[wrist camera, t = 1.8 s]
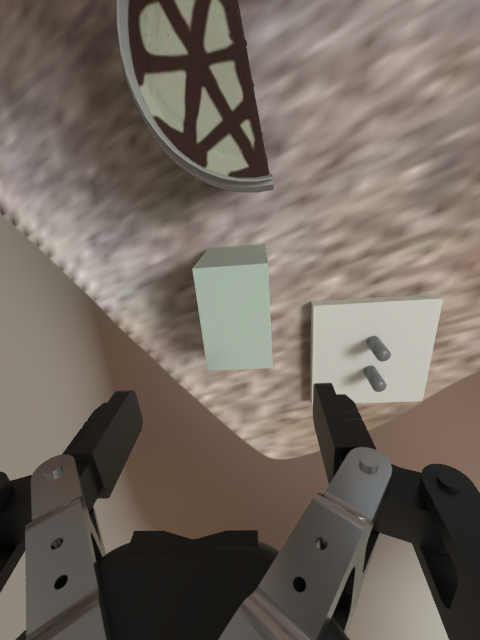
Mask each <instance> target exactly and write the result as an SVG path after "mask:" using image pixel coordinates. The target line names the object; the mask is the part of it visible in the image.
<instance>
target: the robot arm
mask: <svg viewBox="0 0 480 640" xmlns="http://www.w3.org/2000/svg"><path fill="white" fill-rule="evenodd" d="M313 420H314V426H315V430H316V434H317V438H318V442H319V446H320V450H321V454H322V458H323V462H324V466H325V470H326V474H327V478H328V482H329V486H328V488H327V489H326V491H325V492H324V494H321V493H317V494H316V495H315V496H314V498H313V499H312V501H311V502H310V504H309V506H308V507H307V509H306V510H305V512H304V514H303V515H302V517H301V518H300V520H299V522H298V523H297V525H296V526H295V528H294V530H293V531H292V533H291V535H290V536H289V538H288V539H287V541H286V542H285V544H284V546H283V547H282V549H281V550H280V551H278V550H277V549H275V548H274V547H272V546H270V545H267V544H265V543H262V542H259V539H258V531H256V530H254V531H252V530H251V531H249V530H247V531H245V530H244V531H223V532H220V533H217V534H213V535H209V536H206V537H202V538H199V539H189V538H186V537H182V536H179V535H176V534H173V533H169V532H166V531H134V534H133V536H132V539H131V542H130V543H128V544H125V545H122V546H120V547H118V548H116V549H114V550H112V551H111V552H109V553H108V554H106V552H105V548H104V544H103V540H102V536H101V532H100V528H99V524H98V520H97V516H96V512H95V509H94V506H93V505H94V503H95V502H96V500H97V498H109V497H110V495H111V493H112V490H113V488H114V486H115V484H116V482H117V480H118V478H119V476H120V474H121V472H122V469H123V468H124V465H125V463H126V461H127V459H128V457H129V455H130V453H131V451H132V448H133V447H134V445H135V442H136V440H137V438H138V436H139V434H140V432H141V428H142V415H141V412H140V407H139V404H138V400H137V396H136V393H135V392H134V391H133V390H130V391H116V392H115V393H114V394H113V396H112V397H111V398H110V400H109V402H108V403H103V404H102V405H101V406H100V407H98V408H97V409H96V410H94V412H93V413H92V414H91V416H90V417H89V418H88V421H86V422H85V424H84V425H83V427H82V429H80V431H79V432H78V434H77V435H76V436H75V437H74V439H73V440H72V442H71V443H70V444H69V446H68V447H67V449H66V450H65V451H64V453H63V454H62V455H58V456H55V457H52V458H50V459H48V460H47V461H45V462H44V463H42V464H41V465H40V466H39V467H38V468H37V469H36V470H35V471H34V473H33V474H32V475H30V476H27V477H23V478H19V479H16V480H12V481H10V480H9V479H8V477H7V475H6V474H5V473H4V472H0V592H1V591H2V589H3V587H4V585H5V584H6V582H7V580H8V579H9V577H10V575H11V573H12V572H13V570H14V568H15V567H16V565H17V563H18V562H19V560H20V558H21V557H22V555H23V553H24V551H25V553H26V556H25V557H26V630H25V631H24V632H23V633H22V634H21V635H20V636H19V637H18V638H17V639H16V640H349V638H348V637H347V636H346V633H347V630H348V628H349V625H350V622H351V620H352V617H353V614H354V611H355V608H356V605H357V602H358V599H359V595H360V591H361V587H362V584H363V581H364V578H365V575H366V573H367V570H368V567H369V565H370V562H371V560H372V557H373V554H374V551H375V549H376V546H377V544H378V541H379V538H380V535H381V533H382V534H386V535H388V536H391V537H395V538H398V539H401V540H404V541H407V542H410V543H412V544H413V547H414V549H415V552H416V555H417V557H418V560H419V562H420V565H421V568H422V570H423V573H424V575H425V578H426V581H427V583H428V586H429V588H430V591H431V593H432V596H433V599H434V601H435V604H436V607H437V609H438V612H439V614H440V617H441V620H442V622H443V625H444V627H445V630H446V632H447V635H448V638H449V640H480V493H479V492H478V490H477V488H476V487H475V486H474V484H473V483H472V481H471V480H470V479H469V478H468V477H467V476H466V475H464V474H463V473H462V472H460V471H458V470H456V469H455V468H452V467H450V466H447V465H442V464H430V465H428V466H426V467H425V468H424V469H423V470H422V473H420V472H416V471H412V470H407V469H403V468H400V467H397V466H395V465H393V464H391V463H390V461H389V460H388V459H387V458H386V457H385V456H384V455H383V454H382V453H380V452H379V451H377V450H376V448H375V446H374V444H373V441H372V439H371V437H370V435H369V433H368V431H367V428H366V426H365V424H364V422H363V421H362V418H361V416H360V413H359V412H358V409H357V407H356V405H355V403H354V401H353V400H351V399H350V398H349V397H348V396H347V395H346V394H337V395H336V392H335V390H334V387H333V385H332V383H314V385H313Z"/></svg>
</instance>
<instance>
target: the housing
mask: <svg viewBox="0 0 480 640" xmlns="http://www.w3.org/2000/svg"><path fill="white" fill-rule="evenodd" d="M192 270H193V277H194V284H195V290H196V297H197V304H198V310H199V317H200V324H201V330H202V337H203V344H204V350H205V357H206V364H207V370H208V371H212V370H234V369H257V368H273V361H272V339H271V317H270V296H269V274H268V260H267V254H266V247H265V244H262V245H249V246H236V247H223V248H210V249H207V250H206V252H205V253H204V254H203V255H202V257H201V258H200V259H199V261H198V262H197V263H196V264H195V266H194V267H193V268H192Z"/></svg>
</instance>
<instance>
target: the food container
mask: <svg viewBox="0 0 480 640" xmlns="http://www.w3.org/2000/svg"><path fill="white" fill-rule="evenodd" d="M116 3H117V37H118V45H119V53H120V58H121V62H122V67H123V71H124V75H125V79H126V82H127V85H128V87H129V90H130V93H131V95H132V98H133V101H134V103H135V105H136V107H137V109H138V111H139V113H140V115H141V117H142V118H143V120H144V122H145V124H146V126H147V128H148V130H149V131H150V133H151V135H152V136H153V137H154V139H155V140H156V141H157V143H158V144H159V146H160V147H161V148H162V150H163V151H164V152H165V153H166V154H167V155H168V156H169V157H170V158H171V159H172V160H173V161H174V162H175V163H176V164H177V165H178V166H180V167H181V168H182V169H184V170H185V171H186V172H188V173H189V174H190V175H192V176H194V177H195V178H197V179H199V180H201V181H203V182H205V183H206V184H209V185H212V186H215V187H218V188H221V189H223V190H229V191H235V192H263V191H269V190H273V188H274V183H273V176H272V175H271V174H270V172H269V169H268V163H267V157H266V153H265V149H264V144H263V138H262V136H263V135H262V132H261V127H260V121H259V115H258V110H257V105H256V99H255V94H254V89H253V88H254V84H253V81H252V77H251V71H250V66H249V60H248V54H247V49H246V46H247V42H246V40H245V37H244V32H243V27H242V21H241V16H240V10H239V5H238V0H117V1H116Z"/></svg>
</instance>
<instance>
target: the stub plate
mask: <svg viewBox="0 0 480 640" xmlns="http://www.w3.org/2000/svg"><path fill="white" fill-rule="evenodd" d="M442 302H443V298H442V297H440V296H438V295H437V294H424V295H407V296H391V297H374V298H358V299H341V300H324V301H311V356H310V400H311V403H312V405H313V385H314V383H332V385H333V387H334V390H335V392H336V395H337V394H346V395H347V396H348V397H349V398H350V399H351V400H353V401H354V403H380V402H410V401H423V396H424V391H425V386H426V381H427V376H428V371H429V366H430V362H431V357H432V352H433V347H434V342H435V337H436V332H437V327H438V322H439V317H440V312H441V307H442Z"/></svg>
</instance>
